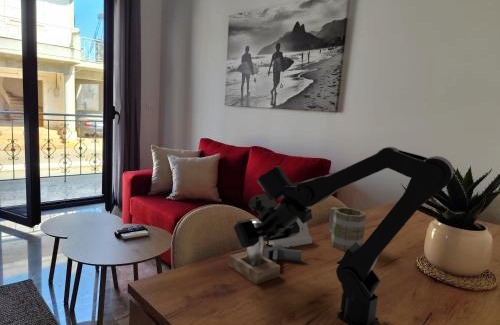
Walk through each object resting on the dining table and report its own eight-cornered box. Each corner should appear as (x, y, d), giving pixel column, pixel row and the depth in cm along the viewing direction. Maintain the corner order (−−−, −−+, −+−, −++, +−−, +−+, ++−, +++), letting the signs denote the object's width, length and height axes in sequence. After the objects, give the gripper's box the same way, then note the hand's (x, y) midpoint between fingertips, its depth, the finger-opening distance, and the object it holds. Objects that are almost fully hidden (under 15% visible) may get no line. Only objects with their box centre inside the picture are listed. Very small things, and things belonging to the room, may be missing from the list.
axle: (264, 272, 91) (269, 222, 89) (252, 276, 88) (256, 225, 86) (254, 266, 95) (258, 218, 93) (242, 269, 92) (245, 220, 90)
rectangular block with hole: (279, 276, 89) (280, 265, 89) (256, 284, 84) (257, 273, 84) (251, 259, 99) (252, 249, 98) (228, 265, 94) (229, 255, 93)
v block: (302, 261, 100) (303, 251, 100) (273, 270, 93) (274, 260, 92) (285, 252, 106) (286, 243, 105) (256, 260, 98) (257, 250, 98)
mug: (369, 250, 112) (373, 215, 111) (342, 253, 108) (346, 217, 107) (340, 234, 127) (343, 203, 125) (315, 235, 123) (319, 204, 121)
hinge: (273, 249, 107) (269, 218, 109) (265, 249, 111) (261, 218, 113) (313, 242, 116) (309, 213, 117) (304, 242, 120) (301, 214, 121)
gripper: (296, 184, 91) (266, 212, 101) (241, 189, 79) (213, 221, 89) (315, 220, 86) (282, 246, 96) (259, 232, 74) (228, 260, 84)
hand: (252, 242), depth 92 cm, fingers open, 9 cm apart
